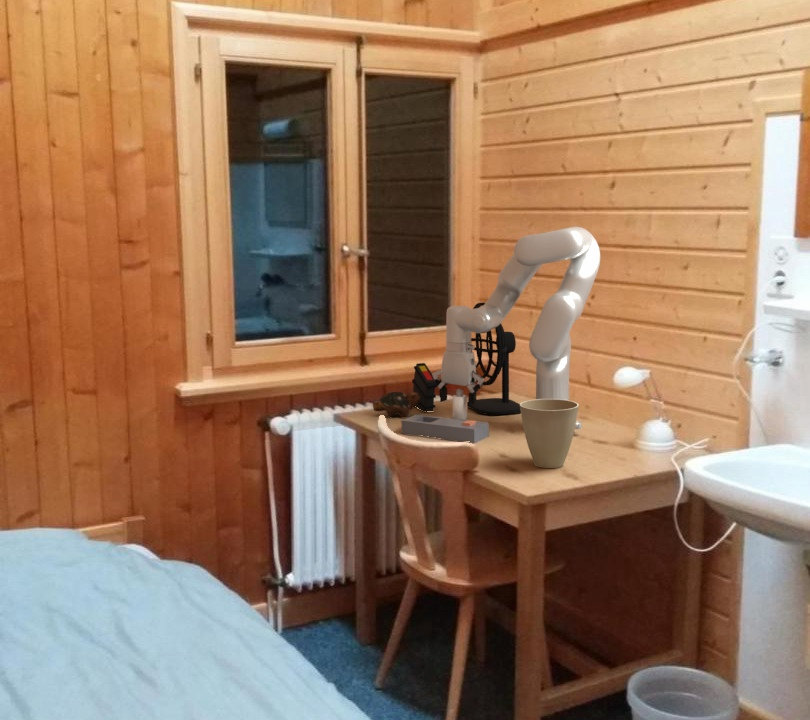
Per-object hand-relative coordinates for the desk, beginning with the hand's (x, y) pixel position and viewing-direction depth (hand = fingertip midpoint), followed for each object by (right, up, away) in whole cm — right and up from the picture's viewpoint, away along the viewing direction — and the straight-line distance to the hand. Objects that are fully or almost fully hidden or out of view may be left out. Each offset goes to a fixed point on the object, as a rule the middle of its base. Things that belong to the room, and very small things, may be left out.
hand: (457, 403), depth 296 cm
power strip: (-4, -9, -11) cm, 15 cm away
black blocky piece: (-9, -4, +22) cm, 24 cm away
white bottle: (+1, -7, +1) cm, 7 cm away
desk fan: (+12, -3, +22) cm, 25 cm away
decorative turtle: (-19, -5, +15) cm, 24 cm away
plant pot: (+21, -14, -44) cm, 51 cm away
